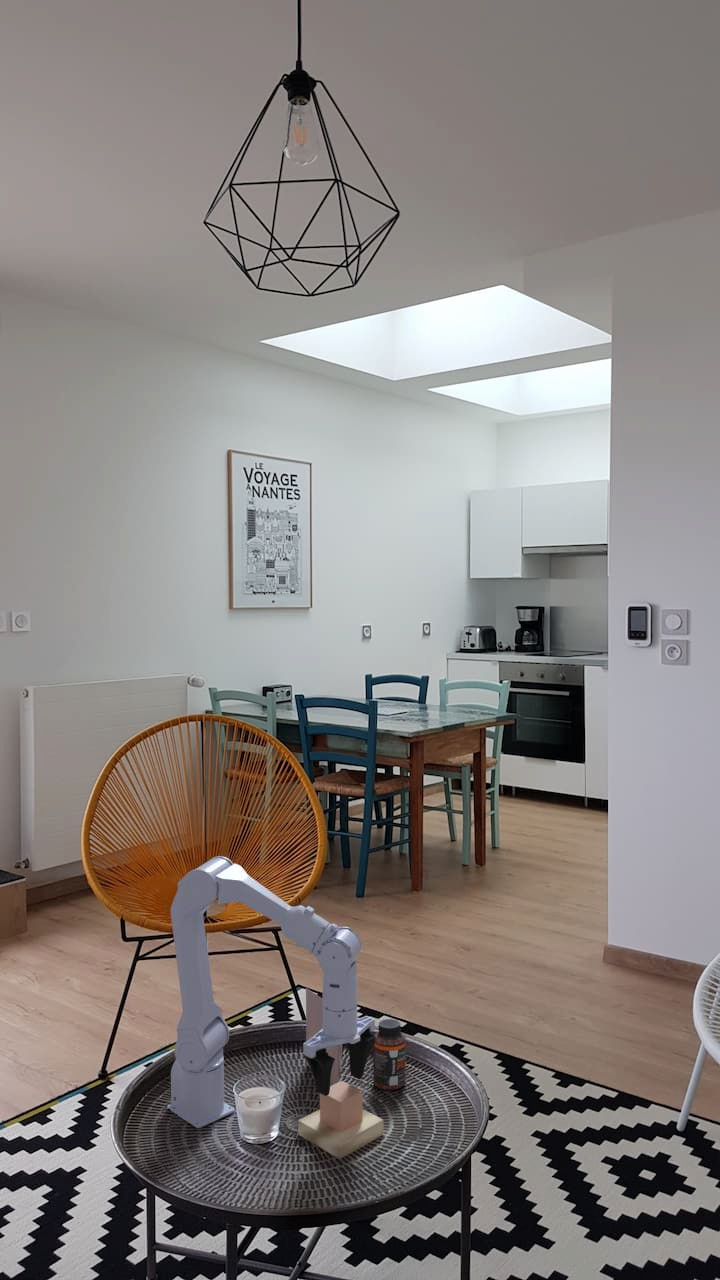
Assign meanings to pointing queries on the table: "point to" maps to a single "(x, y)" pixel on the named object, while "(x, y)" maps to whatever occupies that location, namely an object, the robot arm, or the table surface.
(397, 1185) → the table surface
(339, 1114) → the terracotta cube
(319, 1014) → the greeting card
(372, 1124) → the birch block
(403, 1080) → the supplement bottle
